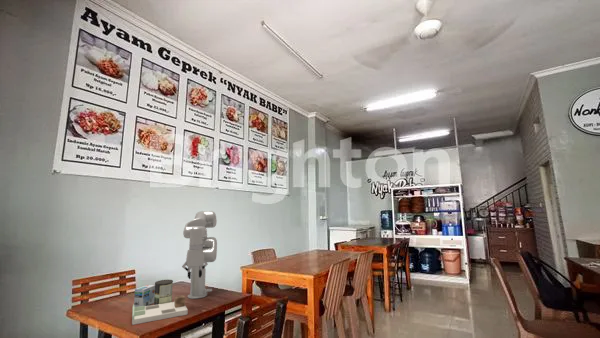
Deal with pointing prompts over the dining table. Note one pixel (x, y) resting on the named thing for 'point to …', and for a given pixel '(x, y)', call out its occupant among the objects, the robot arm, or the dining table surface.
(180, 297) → the walnut block
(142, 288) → the light bulb box
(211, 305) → the dining table surface
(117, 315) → the dining table surface
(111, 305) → the dining table surface
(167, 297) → the coffee can
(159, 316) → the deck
